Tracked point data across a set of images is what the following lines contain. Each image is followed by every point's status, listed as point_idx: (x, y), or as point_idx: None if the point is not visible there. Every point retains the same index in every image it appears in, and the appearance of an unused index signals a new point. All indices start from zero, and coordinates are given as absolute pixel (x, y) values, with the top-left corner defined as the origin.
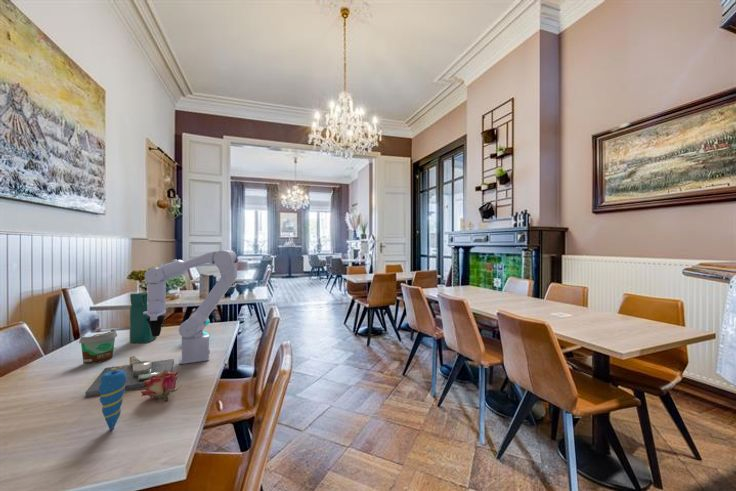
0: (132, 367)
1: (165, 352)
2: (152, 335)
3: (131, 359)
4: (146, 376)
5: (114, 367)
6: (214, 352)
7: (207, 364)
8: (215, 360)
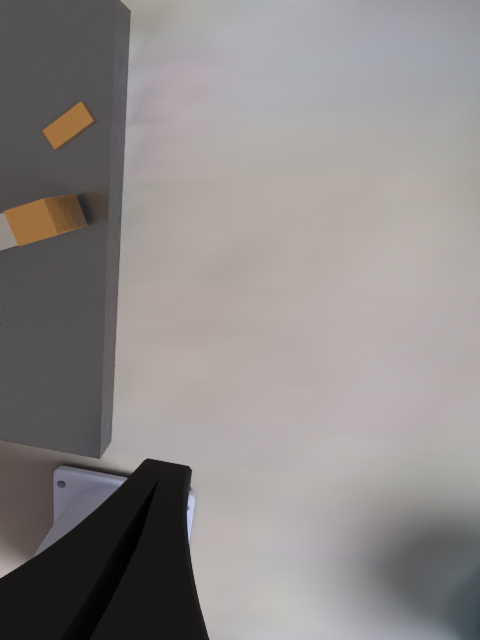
0: None
1: (407, 427)
2: (140, 466)
3: (3, 213)
4: None
5: (89, 78)
6: None
7: (2, 565)
8: None
